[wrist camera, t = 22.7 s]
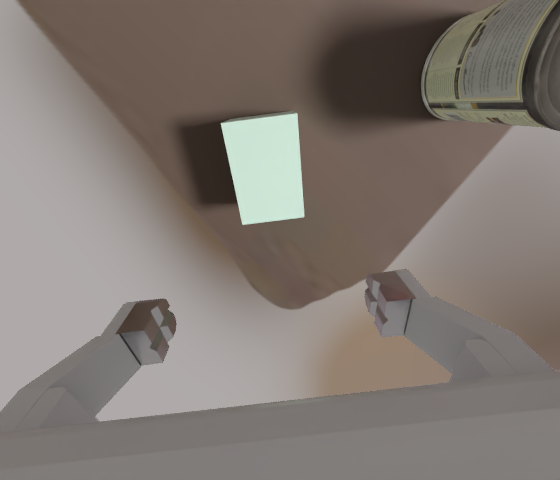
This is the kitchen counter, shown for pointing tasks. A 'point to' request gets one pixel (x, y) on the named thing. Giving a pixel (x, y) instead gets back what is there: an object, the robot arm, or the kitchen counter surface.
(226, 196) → the kitchen counter surface
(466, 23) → the coffee can
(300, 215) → the mint green block
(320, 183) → the kitchen counter surface
